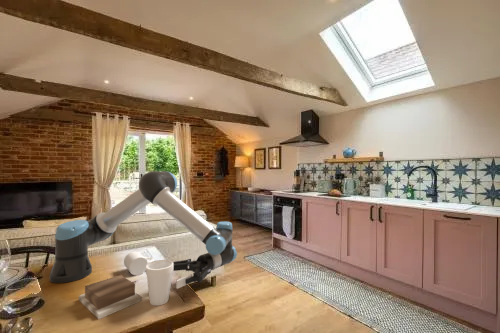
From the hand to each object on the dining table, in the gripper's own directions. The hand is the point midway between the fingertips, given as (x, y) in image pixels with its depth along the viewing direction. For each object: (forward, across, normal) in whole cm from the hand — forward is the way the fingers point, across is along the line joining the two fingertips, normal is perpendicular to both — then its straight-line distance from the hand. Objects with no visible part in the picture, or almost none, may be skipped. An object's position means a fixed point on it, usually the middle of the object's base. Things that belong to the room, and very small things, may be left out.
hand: (165, 279), depth 88 cm
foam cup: (+2, +1, -7) cm, 8 cm away
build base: (+13, +15, -7) cm, 21 cm away
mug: (-7, +32, -8) cm, 33 cm away
